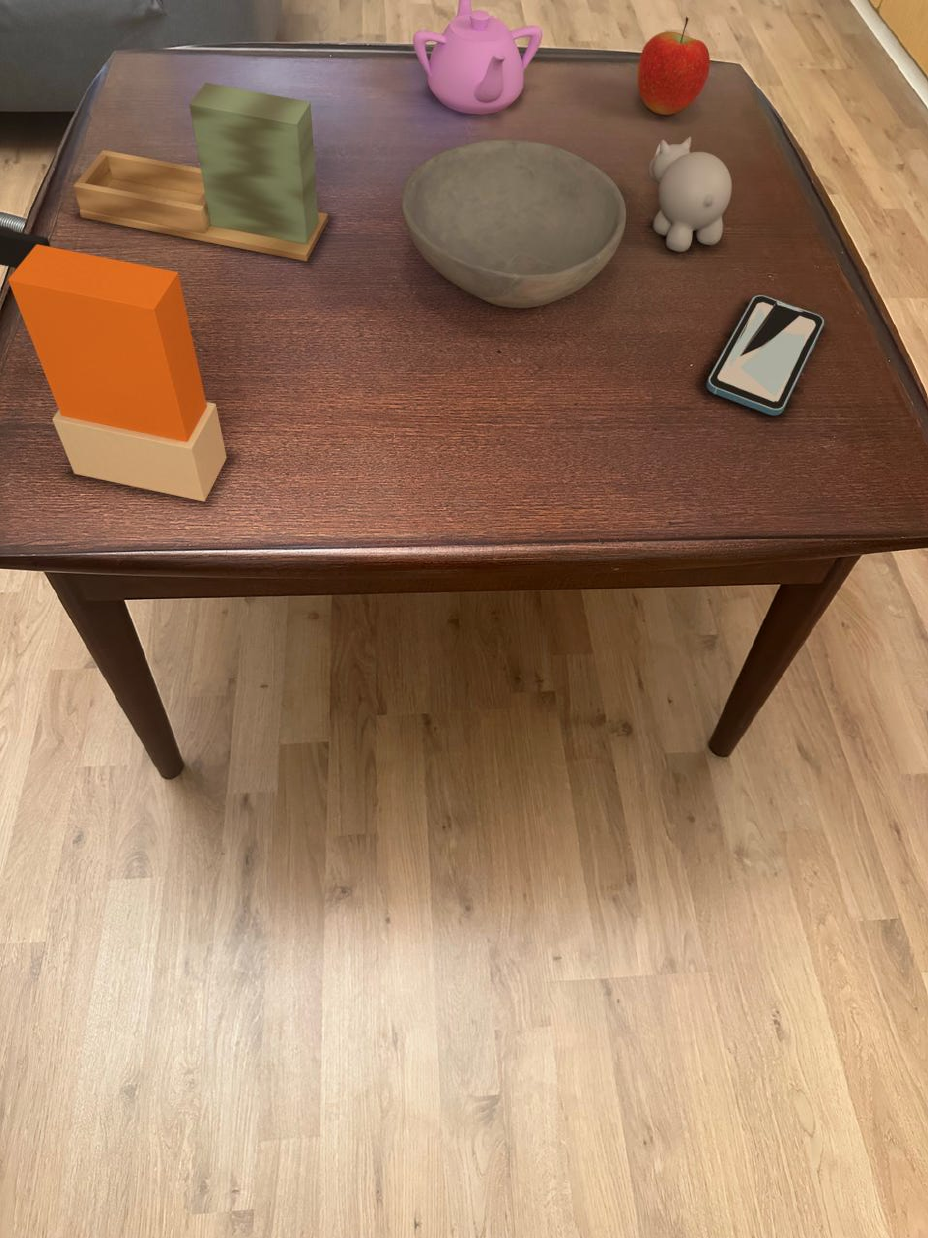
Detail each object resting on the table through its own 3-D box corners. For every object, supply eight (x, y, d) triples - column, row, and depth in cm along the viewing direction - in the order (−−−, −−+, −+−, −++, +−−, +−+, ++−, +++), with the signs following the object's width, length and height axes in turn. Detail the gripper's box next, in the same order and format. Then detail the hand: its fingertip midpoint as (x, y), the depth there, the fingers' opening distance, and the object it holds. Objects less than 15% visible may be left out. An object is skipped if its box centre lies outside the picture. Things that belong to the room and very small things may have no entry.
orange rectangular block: (61, 415, 71) (7, 279, 61) (84, 380, 73) (36, 243, 63) (187, 442, 70) (154, 308, 60) (207, 406, 72) (178, 271, 62)
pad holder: (81, 217, 94) (41, 86, 84) (111, 178, 98) (77, 49, 88) (306, 261, 93) (296, 133, 82) (328, 220, 97) (320, 93, 86)
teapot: (458, 56, 118) (462, -23, 110) (551, 96, 114) (562, 16, 106) (400, 92, 112) (400, 11, 105) (495, 135, 108) (503, 54, 101)
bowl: (654, 304, 92) (675, 231, 86) (475, 371, 85) (482, 297, 79) (534, 192, 102) (544, 118, 95) (364, 244, 95) (362, 168, 88)
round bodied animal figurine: (679, 186, 104) (700, 109, 97) (728, 251, 98) (754, 173, 91) (620, 194, 103) (637, 116, 96) (666, 260, 97) (687, 182, 90)
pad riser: (74, 473, 76) (51, 419, 71) (100, 431, 78) (81, 375, 73) (204, 502, 75) (191, 448, 70) (227, 457, 78) (215, 403, 73)
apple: (618, 112, 113) (635, 21, 104) (648, 85, 117) (668, -4, 108) (678, 135, 110) (701, 45, 102) (707, 107, 114) (731, 18, 106)
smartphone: (704, 383, 85) (755, 291, 93) (701, 391, 86) (752, 299, 94) (782, 413, 84) (827, 317, 91) (778, 421, 84) (824, 325, 92)
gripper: (-148, 208, 78) (96, 255, 77) (-357, 414, 64) (-65, 476, 63) (-194, 118, 72) (70, 167, 70) (-438, 324, 58) (-115, 391, 56)
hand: (7, 313), depth 66 cm, fingers open, 13 cm apart
